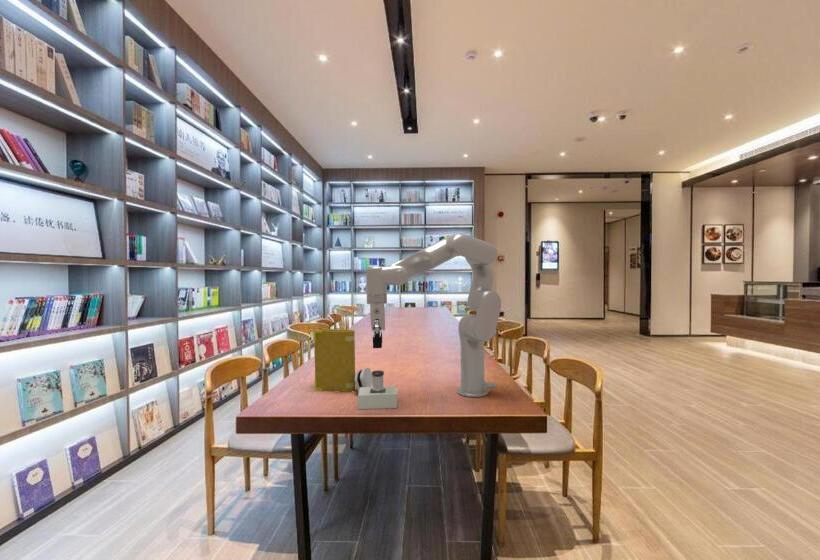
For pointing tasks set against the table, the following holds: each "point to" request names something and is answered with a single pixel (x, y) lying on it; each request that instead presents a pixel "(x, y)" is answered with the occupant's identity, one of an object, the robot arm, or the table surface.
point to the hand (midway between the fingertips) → (377, 345)
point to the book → (334, 360)
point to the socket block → (377, 398)
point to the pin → (377, 381)
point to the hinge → (363, 378)
